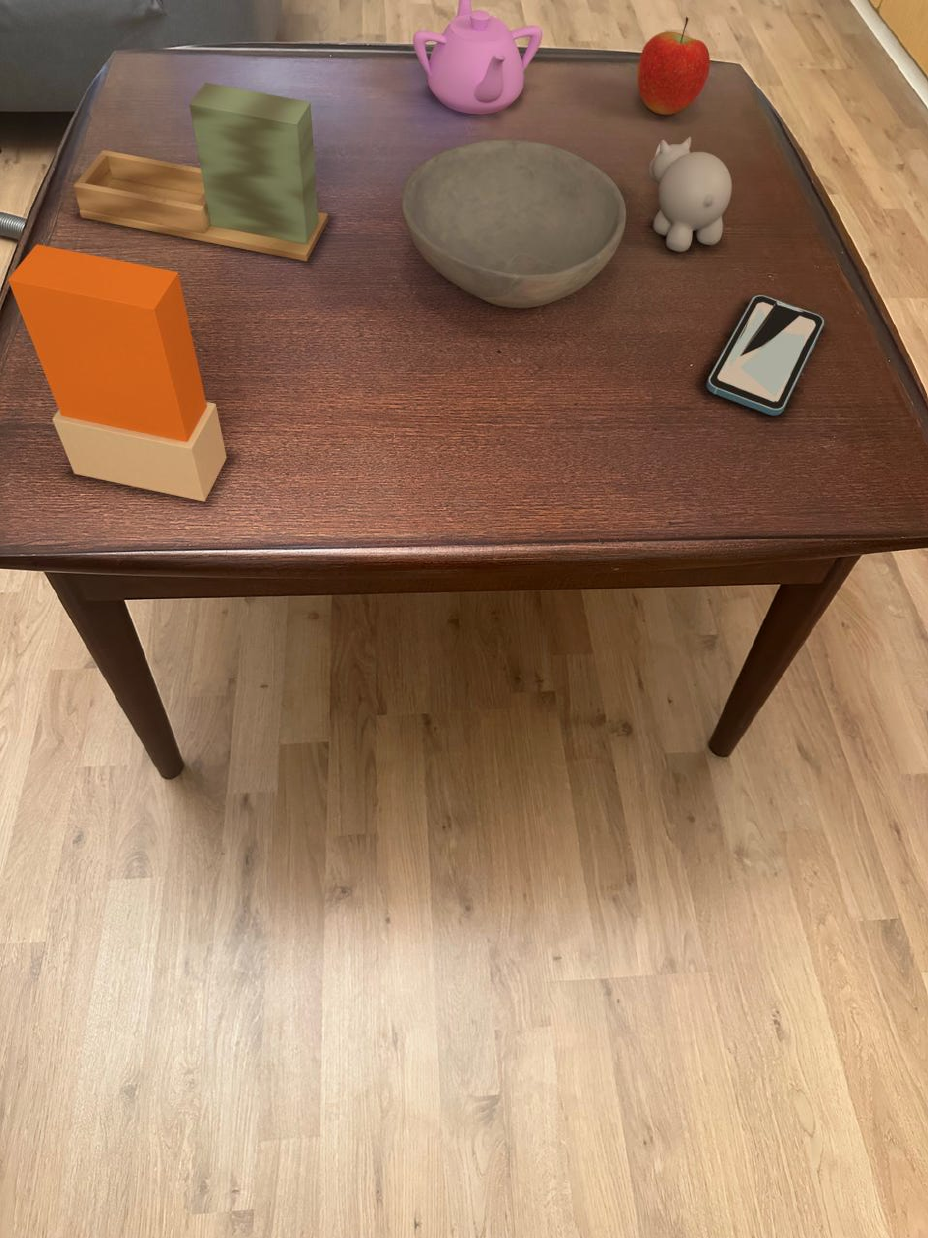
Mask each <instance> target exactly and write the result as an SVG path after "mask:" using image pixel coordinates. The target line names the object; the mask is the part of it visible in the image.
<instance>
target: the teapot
mask: <svg viewBox="0 0 928 1238" xmlns="http://www.w3.org/2000/svg"><path fill="white" fill-rule="evenodd" d="M471 1H472V0H459V1H458V7H457V12H456V16H455V18H454V19H452V20H451V21H450V23H448V24H447V26H446V27H445V28H444V30H443V31H442V33H439V32H436V31H431V30H427V29H420V30H416V32H415V33H414V34H413V36H412V45H413V49H414V52H415V54H416V56H417V59H418V61H419V62H420V64H421V67H423V69H424V71H425V72H426V81H427V84H428V87H429V88H430V90H431V92H432V93H433V95H434V96H435V97H436V99H437V100H438V101H439V102H440V103H441V104H442V105H444V106H445V107H446V108H449V109H451V110H452V111H456V112H459V113H463V114H467V115H490V114H496V113H499V112H501V111H504V110H505V109H506V108H508V107H509V106H511V105H512V104H513V103H514V102H515V101H516V100H517V99H518V97H520V95H521V93H522V91H523V89H524V83H525V82H524V79H525V75H524V71H525V70H526V69H527V67H528V65H529V64H530V62H531V61H532V60H533V58H534V57H535V55H536V53H537V52H538V50H539V48H540V46H541V43H542V39H543V30H542V28H541V27H540V26H538V25H528V26H523V27H519V28H516V29H513V30H510V28H509V27H508V25H507V24H506V23H505V22H504V21H502V20H500V19H499V18H497V17H495V16H492V15H491V14H490V13H489V12H488V11H486V10H481V9H476V10H472V2H471ZM526 37H528V38H529V41H528V44H527V47H526V50H525V52H524V54H523V56H521V52H520V51H519V47H518V45H517V43H516V41H515V40H517V39H522V38H526ZM427 42H435V45H434V47H433V49H432V51H431V54H430V58H428V53H427V49H426V44H427Z"/></svg>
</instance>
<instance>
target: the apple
mask: <svg viewBox="0 0 928 1238" xmlns="http://www.w3.org/2000/svg"><path fill="white" fill-rule="evenodd" d="M689 19H690V18H689V17H688V16H686V17H685V23H684V26H683V29H682V30H683V31H682V33H680V32H676V31H672V30H671V31H669V30H668V31H661V32H660V33H657V34H655V35H654V36H652V37H651V38H650V39H649V40H648V41H647V42H646V43H645V45H644V47H643V49H642V51H641V53H640V56H639V59H638V65H637V76H636V77H637V88H638V92H639V95H640V98H641V100H642V102H643V104H644V105H645V107H647V108H648V110H650V111H651V112H652V113H654V114H657V115H660V116H671V115H675V114H678V113H680V112H681V111H683V110H685V109H686V108H687V107H689V106H690V105H691V104H692V103H693V102H695V100H696V98H697V97H698V96H699V95H700V93H701V92H702V90H703V88H704V86H705V84H706V82H707V80H708V77H709V73H710V66H711V58H710V53H709V49H708V47H707V45H706V44H705V43H704V42H703V41H702V40H700V39H696V38H693V37H691V36H689V35H686V34H685V32H686V28H687V25H688V22H689Z"/></svg>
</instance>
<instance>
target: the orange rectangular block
mask: <svg viewBox="0 0 928 1238" xmlns="http://www.w3.org/2000/svg"><path fill="white" fill-rule="evenodd" d="M7 281H8V283H9V286H10V288H11V291H12V293H13V296H14V299H15V301H16V304H17V306H18V309H19V311H20V313H21V316H22V319H23V321H24V325H25V326H26V329H27V332H28V334H29V337H30V339H31V342H32V345H33V347H34V350H35V352H36V354H37V357H38V359H39V362H40V365H41V368H42V370H43V372H44V375H45V377H46V380H47V382H48V385H49V388H50V391H51V393H52V395H53V398H54V400H55V404H56V405H57V408H58V410H59V411H60V413H61V415H62V416H66V417H70V418H75V419H80V420H85V421H89V422H94V423H99V424H103V425H108V426H113V427H118V428H122V429H127V430H132V431H137V432H141V433H146V434H151V435H156V436H160V437H165V438H170V439H175V440H179V441H184V442H188V440H189V438H190V437H191V435H192V433H193V431H194V429H195V427H196V426H197V424H198V422H199V420H200V418H201V416H202V415H203V413H204V411H205V409H206V407H207V404H206V402H207V399H206V396H205V395H206V394H205V392H204V391H205V390H204V386H203V382H202V376H201V372H200V368H199V363H198V359H197V353H196V349H195V344H194V341H193V340H194V339H193V336H192V331H191V327H190V322H189V318H188V313H187V307H186V304H185V299H184V294H183V290H182V285H181V281H180V275H179V272H178V271H174V270H169V269H163V268H159V267H153V266H148V265H144V264H138V263H133V262H128V261H123V260H118V259H115V258H108V257H104V256H99V255H92V254H88V253H84V252H79V251H78V252H77V251H74V250H73V251H72V250H68V249H62V248H57V247H53V246H48V245H42V244H35V245H34V246H33V248H32V249H31V250H30V252H29V253H28V254H27V255H26V257H25V258H24V259H23V260H22V261H21V263H20V264H19V265H18V266H17V268H15V270H14V271H13V272H12V273H11V275H10V276H9V277H8V279H7Z"/></svg>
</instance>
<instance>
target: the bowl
mask: <svg viewBox="0 0 928 1238" xmlns="http://www.w3.org/2000/svg"><path fill="white" fill-rule="evenodd" d="M400 208H401V213H402V218H403V222H404V224H405V227H406V230H407V232H408V235H409V237H410V239H411V241H412V243H413V245H414V247H415V249H416V250H417V252H419V254H420V256H421V257H422V258H423V259H424V260H425V262H427V264H429V265H430V267H432V268H433V270H435V271H436V272H438V273H439V274H440V275H441V276H442V277H444V278H445V279H446V280H447V281H449V282H451V283H452V285H455V286H456V287H457V288H460V289H462V290H463V291H465V292H467V293H468V294H470V295H472V296H475V297H477V298H479V299H481V300H483V301H485V302H487V303H490V304H492V305H495V306H497V307H503V308H510V309H530V308H535V307H537V308H538V307H542V306H545V305H550V304H551V303H554V302H555V301H559V300H561V299H563V298H566V297H568V296H570V295H572V294H574V293H576V292H578V291H579V290H581V289H582V288H583V287H585V286H586V285H587V284H588V283H590V282H591V281H592V280H593V279H594V278H595V277H597V275H599V273H600V272H601V271H602V270H603V269H604V268H605V267H606V266H607V264H608V263H609V262H610V260H611V259H612V257H613V256H614V254H615V253H616V250H617V249H618V247H619V245H620V243H621V240H622V239H623V235H624V232H625V227H626V221H627V220H626V219H627V209H626V204H625V199H624V197H623V195H622V193H621V191H620V189H619V188H618V186H617V185H616V183H615V182H614V181H613V180H612V179H611V177H610V176H608V174H607V173H605V172H604V171H603V170H601V169H600V168H599V167H597V166H596V165H594V164H593V163H591V162H590V161H588V160H586V159H584V158H582V157H580V156H578V155H577V154H575V153H573V152H571V151H569V150H567V149H564V148H562V147H559V146H556V145H552V144H548V143H544V142H537V141H528V140H521V139H487V140H478V141H474V142H470V143H466V144H461V145H459V146H455V147H452V148H450V149H447V150H444V151H442V152H440V153H438V154H436V155H434V156H433V157H431V158H429V159H428V160H426V161H424V162H423V163H421V164H420V165H419V166H418V168H416V169H415V171H413V172H412V174H411V175H410V176H409V178H408V179H407V181H406V182H405V184H404V187H403V189H402V193H401V199H400Z"/></svg>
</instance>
